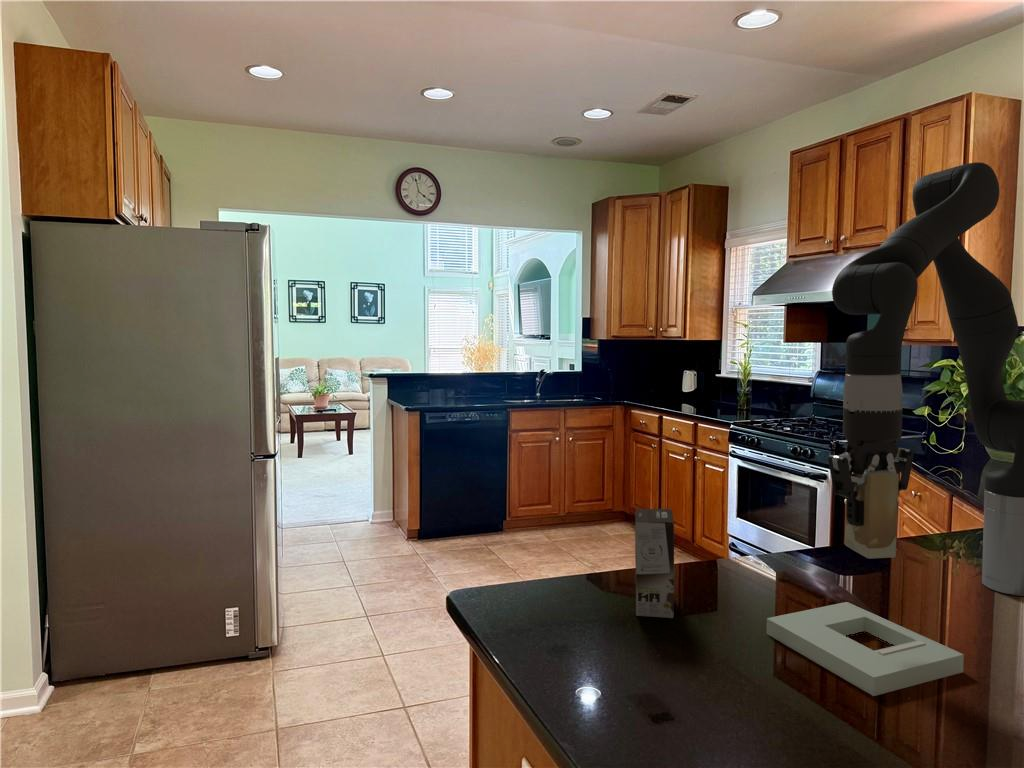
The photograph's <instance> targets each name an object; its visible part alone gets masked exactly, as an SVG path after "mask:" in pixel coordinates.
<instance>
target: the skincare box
mask: <svg viewBox="0 0 1024 768" xmlns="http://www.w3.org/2000/svg"><path fill="white" fill-rule="evenodd" d="M854 474H855V477H857V478H862V477H863V474H864V473H863V474H861V475H858V474H856V473H855V472H854ZM899 476H900V475H899V473H898V474H897V473H894V472H891V471H888V470H879V471H874V473H870V474H867V484H866V485H865V494H864V497H863V499H862V501H864V525H863V526H854V525H851V524H849V522H848V520H847V518H846V517H845V525H844V526H845V529H844V531H845V532H844V545H845V546H846V547H848V548H849V549H851V550H852V551H854V552H855V553H858V554H859V555H861V556H862V557H865V558H866V559H884V558H896V556H897V555H896V554H897V532H898V531H897V529H898V501H899V500H898V499H899V492H898V481H900V477H899ZM857 485H858V483H856V484H855V487H854V491H856V489H857ZM846 511H847V510H846V509H845V512H846Z"/></svg>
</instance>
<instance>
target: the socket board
mask: <svg viewBox="0 0 1024 768" xmlns="http://www.w3.org/2000/svg"><path fill="white" fill-rule="evenodd" d="M862 631H866V632H869V633H871V634H872V635H874V636H876V637H879V638H880V639H882V640H884V641H887V642H888V643H890V644H893V645H895V646H892V645H891V646H889V647H888V646H887V647H884V648H880V649H875V650H873V649H872V648H870V647H867V646H865V645H864V644H862V643H860V642H857V641H856V640H854V639H851V638H850V637H849V636H847V637H846V635H849V634H855V633H858V632H862ZM766 634H767V635H768V636H769V637H772V638H773V639H775V640H776V641H778V642H780V643H781V644H783V645H785V646H786V647H788V648H790V649H792V650H793V651H795V652H797V653H799V654H800V655H802V656H804V657H806V658H807V659H809V660H811V661H813V662H814V663H815V664H818V665H819V666H820V667H823V668H824V669H826V670H828V671H829V672H831V673H833V674H834V675H836V676H838V677H840V678H842V679H843V680H845V681H847V682H848V683H850V684H851V685H854V686H855V687H857V688H858V689H860V690H862V691H864V692H865V693H868V694H869V695H871V696H872V697H875V696H880V695H884V694H886V693H890V692H894V691H897V690H902V689H906V688H910V687H913V686H916V685H920V684H921V685H922V684H924V683H928V682H933V681H935V680H939V679H943V678H948V677H950V676H954V675H958V674H963V673H964V659H965V658H964V655H965V654H964V653H961V652H959V651H957V650H955V649H953V648H950V647H948V646H946V645H944V644H941V643H940V642H937V641H935V640H934V639H933V640H932V639H931V638H929V637H927V636H924V635H921V634H919V633H917V632H915V631H913V630H910V629H908V628H907V627H906V628H905V627H904V626H901V625H899V624H897V623H895V622H892V621H890V620H888V619H886V618H883V617H881V616H879V615H877V614H875V613H873V612H870V611H868V610H866V609H863V608H862V607H860V606H856V605H855V604H853V603H850V602H849V601H848V602H847V601H845V602H840V603H835V604H830V605H825V606H819V607H815V608H811V609H806V610H801V611H796V612H791V613H785V614H781V615H777V616H771V617H767V618H766ZM880 639H879V640H880ZM882 640H881V641H882ZM884 641H883V642H884ZM888 643H887V644H888ZM890 644H889V645H890Z"/></svg>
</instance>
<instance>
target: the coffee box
mask: <svg viewBox="0 0 1024 768" xmlns="http://www.w3.org/2000/svg"><path fill="white" fill-rule="evenodd" d="M634 518H635V521H634V523H635V524H634V527H635V529H634V530H635V531H634V539H635V541H634V542H635V543H634V544H635V545H634V546H635V547H634V550H635V551H634V555H635V558H634V559H635V563H634V564H635V610H636V611H635V615H636V616H637V617H651V618H664V619H665V618H667V619H673V618H674V616H675V615H674V614H675V528H674V527H675V521H674V520H675V519H674V514H673V509H671V508H647V509H646V508H636V509H635V517H634Z"/></svg>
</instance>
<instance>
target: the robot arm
mask: <svg viewBox="0 0 1024 768" xmlns="http://www.w3.org/2000/svg"><path fill="white" fill-rule="evenodd" d="M999 198H1000V184H999V180H998V176H997V175H996V172H995V171H994V169H993V168H992V167H991V166H990V165H989V164H987V163H984V162H979V161H978V162H977V161H976V162H970V163H969V162H968V163H965V164H961V165H957V166H954V167H950V168H946V169H943V170H940V171H935V172H932V173H929V174H927V175H923V176H920V178H918V179H917V180H916V181H915V183H914V185H913V189H912V204H913V208H914V213H915V214H914V215H915V216H914V217H913V218H911V219H909V220H908V221H906V222H905V223H902V224H901V225H900V226H898V227H897V228H896V229H895V230H894V231H893V232H891V234H890V235H889V236H887V238H886V239H885V240H884V241H883V242H882V243H881V244H880V245H879V247H877V248H875V249H872V250H871V251H868V252H866V253H864V254H863V255H862V256H859V257H858V258H856V259H854V260H853V261H850V262H849V263H848V264H846V265H845V266H844V267H843V268H842V269H841V271H839V272H838V273H837V275H836V276H835V278H834V282H833V284H832V288H831V295H832V301H833V304H834V306H836V308H837V309H838V310H839V311H841V312H842V313H844V314H846V315H847V314H848V315H853V316H862V315H864V316H866V315H867V316H869V315H879V318H878V320H877V322H876V323H875V325H874V326H873V327H872V328H871V329H868V330H863V331H859V332H855V333H852V334H850V335H849V336H848V337H847V339H846V342H845V376H844V384H843V394H842V399H843V401H842V413H843V414H842V416H843V417H842V436H843V437H844V438H845V439H846V441H847V444H846V447H845V449H844V452H843V453H841V454H838V455H834V454H830V455H828V459H827V461H828V465H829V466H828V467H829V472H830V479H831V481H832V482H831V483H832V488H833V489H832V490H833V493H834V494H835V495H838V496H842V497H844V498H845V519H846V518H847V520H848V522H849V524H851V525H854V526H863V525H864V501H862V499H863V497H864V494H865V485H866V484H867V474H870V473H874V471H879V470H888V471H891V472H894V473H897V474H899V473H900V477H899V480H898V493H899V492H901V491H907V489H908V488H909V483H910V479H911V478H910V477H911V472H912V466H913V462H914V456H915V451H914V450H913V449H908V448H903V447H899V446H898V444H897V441H900V440H901V439H902V437H903V402H904V401H903V394H904V393H903V383H902V374H901V373H902V345H903V340H904V338H905V333H906V330H907V325H908V323H909V320H910V316H911V313H912V310H913V307H914V305H915V302H916V298H917V293H918V278H919V277H920V276H921V275H922V274H923V273H924V272H925V271H926V269H928V267H929V266H930V264H932V262H933V265H934V267H935V270H936V272H937V276H938V279H939V283H940V287H941V290H942V294H943V297H944V299H943V300H944V302H945V306H946V310H947V314H948V319H949V323H950V327H951V329H952V334H953V336H954V339H955V342H956V345H957V349H958V353H959V355H960V359H961V365H962V368H963V372H964V377H965V381H966V387H967V393H968V400H969V401H968V402H969V406H970V412H971V413H970V414H971V419H972V425H973V429H974V432H975V435H976V437H977V439H978V441H979V443H980V444H981V445H982V446H984V447H985V448H987V449H990V450H992V451H997V452H1004V453H1010V454H1014V456H1013V462H1012V465H1011V466H1009V467H1008V468H1006V469H1001V470H993V471H991V472H988V473H987V474H986V475H985V476H984V491H983V494H984V497H983V532H982V536H983V537H982V564H981V566H982V567H981V569H982V570H981V572H982V574H981V576H982V577H981V583H982V584H983V586H985V587H987V588H988V589H991V590H992V591H996V592H999V593H1003V594H1007V595H1013V596H1020V597H1024V401H1023V400H1013V399H1009V398H1008V396H1007V394H1006V391H1005V387H1004V382H1003V369H1004V366H1005V364H1006V361H1007V359H1008V357H1009V355H1010V353H1011V351H1012V348H1013V346H1014V344H1015V342H1016V339H1017V336H1018V332H1019V322H1018V318H1017V314H1016V313H1017V312H1016V310H1015V306H1014V303H1013V297H1012V295H1011V292H1010V290H1009V289H1008V287H1007V286H1006V285H1005V284H1004V283H1003V281H1002V280H1000V279H999V277H997V276H996V275H995V274H994V273H993V272H992V271H990V270H989V269H988V268H987V267H985V265H982V263H980V262H979V261H978V260H976V258H975V257H974V256H972V255H971V254H970V253H969V252H968V250H967V249H966V248H965V247H964V245H963V243H962V242H961V240H960V237H961V236H962V235H963V234H965V233H966V232H967V231H968V230H970V229H971V228H972V227H974V226H975V225H977V224H978V223H980V222H981V221H983V220H985V219H986V218H988V217H989V216H990V215H991V214H992V213H993V212H994V210H995V209H996V208H997V206H998V203H999ZM854 472H855V473H856V474H858V475H861V474H863V473H864V474H863V477H862V478H857V477H855V474H854ZM856 483H858V485H857V489H856V491H854V487H855V484H856ZM846 510H847V511H846Z"/></svg>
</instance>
